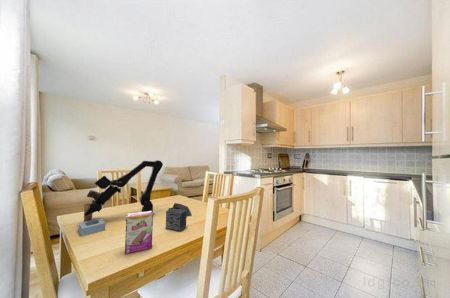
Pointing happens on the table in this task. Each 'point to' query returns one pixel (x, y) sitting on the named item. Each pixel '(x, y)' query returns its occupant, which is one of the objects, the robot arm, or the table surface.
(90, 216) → the walnut peg
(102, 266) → the table surface
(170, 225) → the small box
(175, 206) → the dark slate chunk
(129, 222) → the candy bar box
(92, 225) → the socket block
